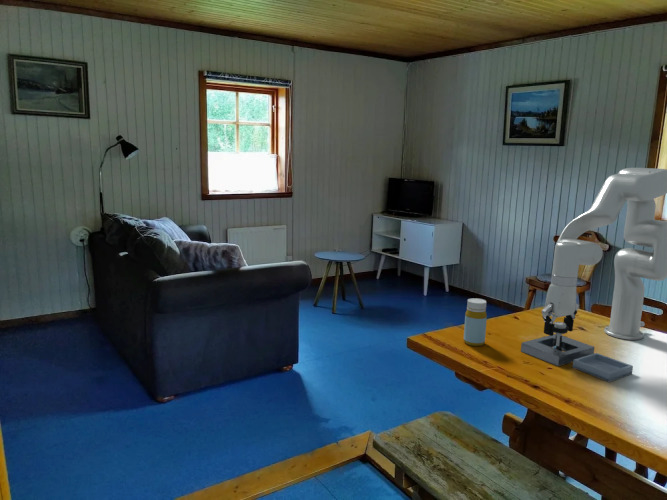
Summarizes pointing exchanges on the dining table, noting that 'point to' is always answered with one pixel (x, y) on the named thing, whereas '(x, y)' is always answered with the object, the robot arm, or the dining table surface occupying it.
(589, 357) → the tray
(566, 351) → the block
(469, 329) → the bottle
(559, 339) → the push button
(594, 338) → the dining table surface
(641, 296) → the robot arm
